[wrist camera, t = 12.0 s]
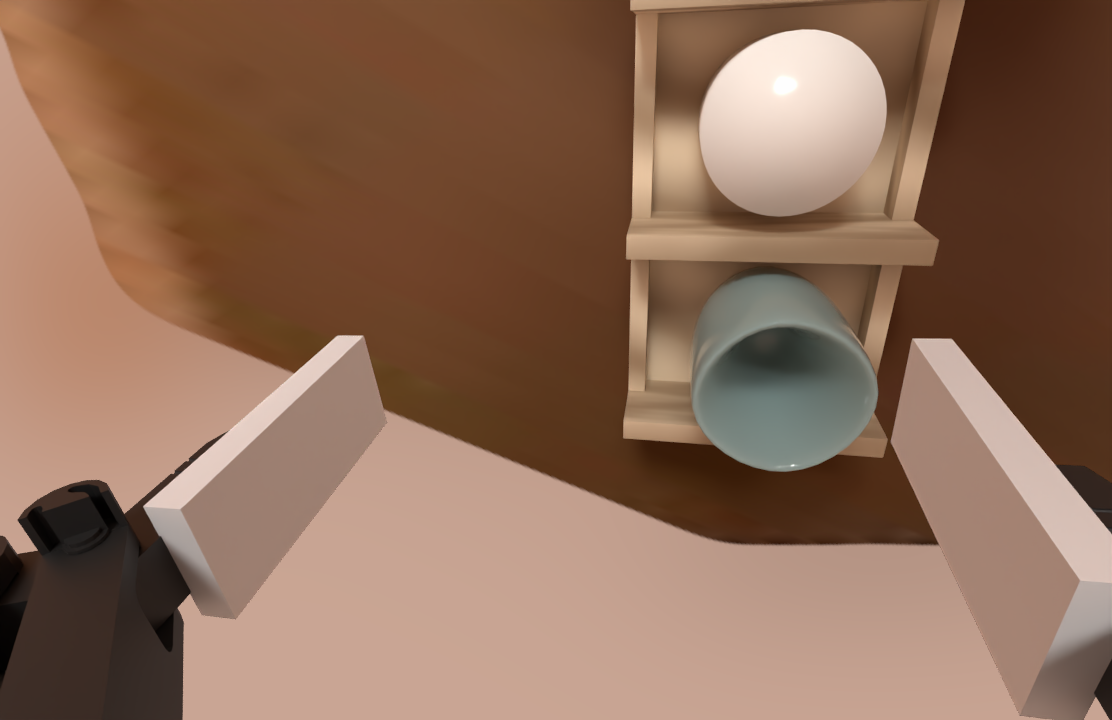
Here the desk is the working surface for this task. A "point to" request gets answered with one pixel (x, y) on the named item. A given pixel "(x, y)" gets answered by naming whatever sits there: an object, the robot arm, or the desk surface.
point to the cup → (778, 372)
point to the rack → (758, 240)
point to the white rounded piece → (791, 121)
